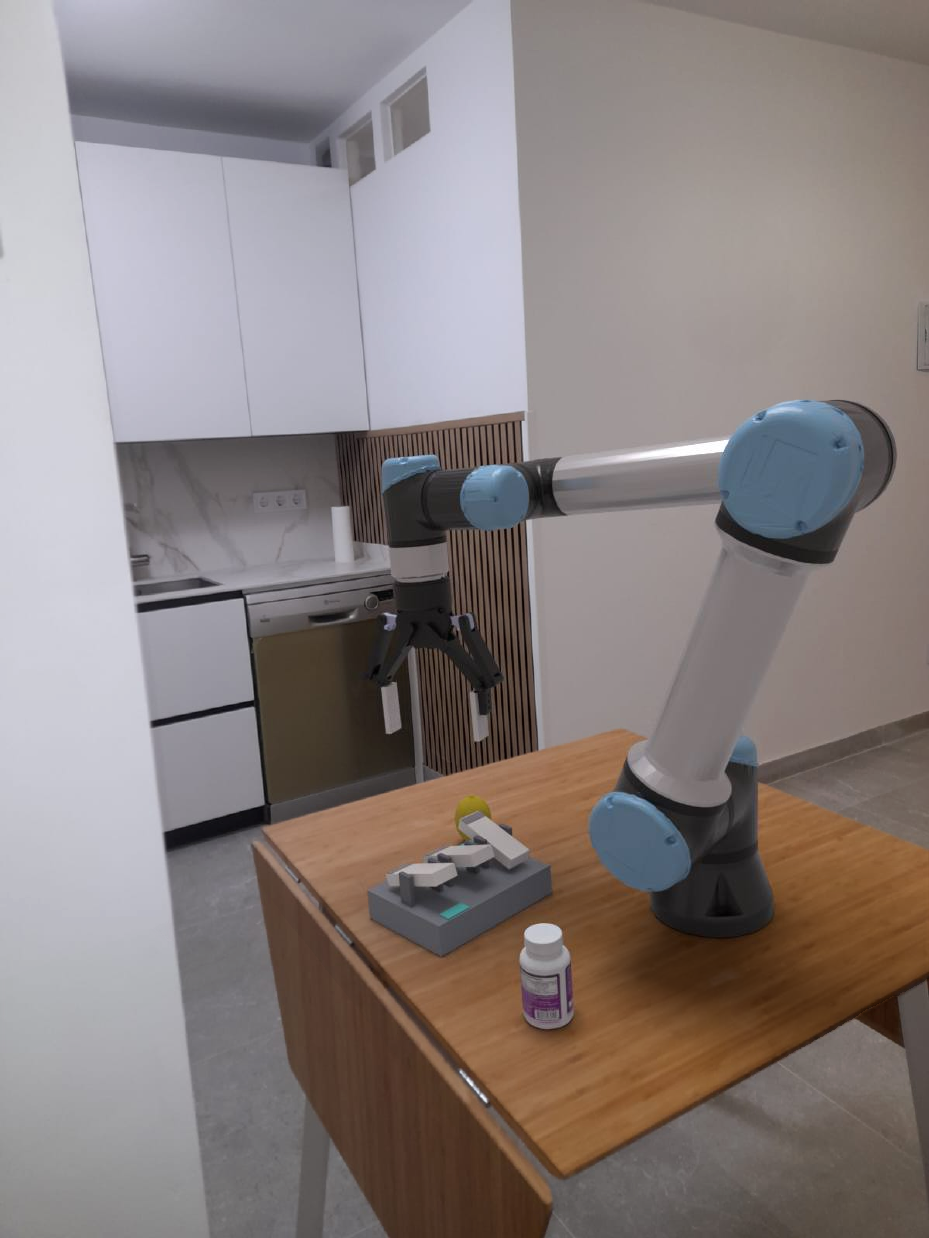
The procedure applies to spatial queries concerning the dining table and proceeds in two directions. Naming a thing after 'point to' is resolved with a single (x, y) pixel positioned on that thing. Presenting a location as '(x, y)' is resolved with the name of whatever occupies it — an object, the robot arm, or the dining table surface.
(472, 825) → the rocker
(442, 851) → the rocker
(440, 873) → the rocker
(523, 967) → the pill bottle
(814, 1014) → the dining table surface
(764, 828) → the dining table surface
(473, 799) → the lemon
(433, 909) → the console
